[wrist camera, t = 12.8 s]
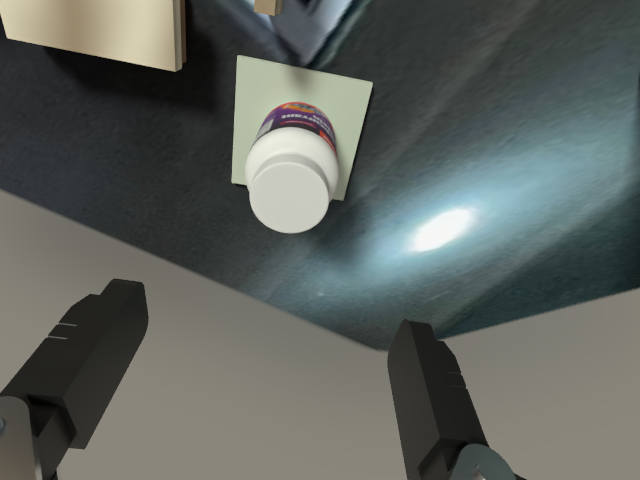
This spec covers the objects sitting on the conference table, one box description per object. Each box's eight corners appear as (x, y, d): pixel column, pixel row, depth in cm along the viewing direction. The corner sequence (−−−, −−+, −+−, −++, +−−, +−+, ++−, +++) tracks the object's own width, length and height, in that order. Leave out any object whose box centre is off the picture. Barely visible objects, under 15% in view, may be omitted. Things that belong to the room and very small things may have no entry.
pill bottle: (349, 126, 25) (365, 185, 17) (310, 184, 27) (307, 260, 19) (283, 82, 23) (266, 125, 15) (247, 148, 26) (216, 215, 18)
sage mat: (371, 82, 24) (372, 83, 23) (342, 197, 29) (343, 200, 28) (238, 55, 23) (237, 56, 22) (232, 179, 28) (231, 182, 27)
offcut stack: (192, -11, 21) (172, -12, 18) (193, 62, 23) (175, 71, 20) (15, -51, 20) (-38, -60, 17) (35, 30, 22) (-9, 35, 19)
